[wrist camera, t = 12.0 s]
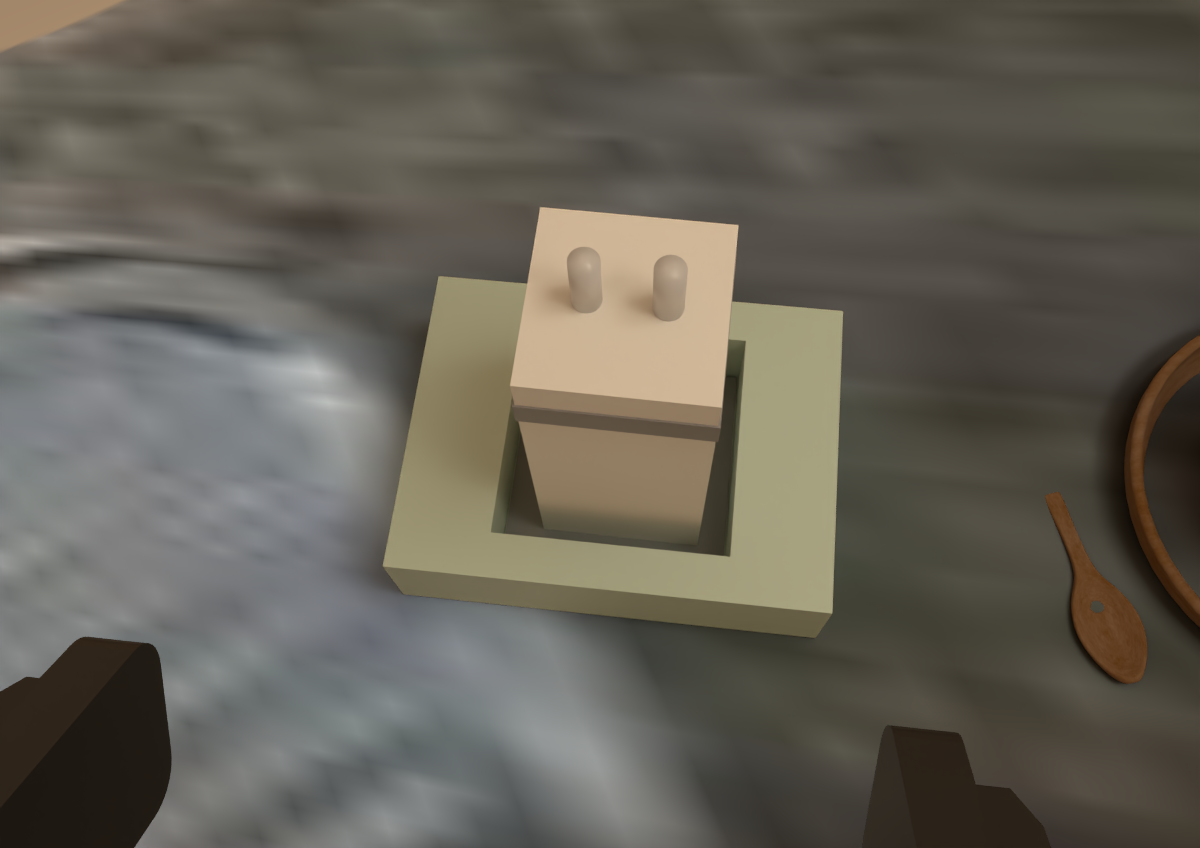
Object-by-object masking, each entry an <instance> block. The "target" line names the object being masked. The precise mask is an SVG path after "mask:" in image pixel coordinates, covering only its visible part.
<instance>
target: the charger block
mask: <svg viewBox="0 0 1200 848" xmlns="http://www.w3.org/2000/svg"><path fill="white" fill-rule="evenodd" d="M737 236H738V225H731V224H720V223H709V222H698V221H687V220H676V219H665V218H654V217H643V216H632V215H621V214H610V213H599V212H588V211H577V210H566V209H555V208H544V207H540V212H539V218H538V224H537V230H536V236H535V242H534V248H533V253H532V259H531V265H530V271H529V277H528V283H527V289H526V295H525V300H524V306H523V312H522V318H521V324H520V330H519V336H518V341H517V347H516V353H515V359H514V365H513V371H512V377H511V383H510V388H511V392H512V397H513V403H512V409H513V413H514V417H515V421H518V422H519V426H520V430H521V434H522V438H523V443H524V447H525V451H526V455H527V459H528V464H529V468H530V472H531V476H532V480H533V485H534V489H535V493H536V497H537V501H538V505H539V510H540V514H541V518H542V522H543V526H544V529H551V530H560V531H569V532H578V533H587V534H596V535H605V536H614V537H623V538H632V539H641V540H650V541H659V542H668V543H677V544H686V545H695V546H697V543H698V538H699V532H700V527H701V521H702V516H703V510H704V505H705V499H706V493H707V488H708V482H709V477H710V471H711V466H712V460H713V455H714V449H715V443H716V442H718V440H719V435H720V430H721V420H722V409H723V398H724V387H725V376H726V364H727V353H728V342H729V331H730V320H731V309H732V298H733V287H734V276H735V265H736V254H737Z"/></svg>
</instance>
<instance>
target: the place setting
mask: <svg viewBox="0 0 1200 848" xmlns="http://www.w3.org/2000/svg"><path fill="white" fill-rule="evenodd" d="M1198 373H1200V335H1199V336H1197V337H1196V338H1194V339H1193V340H1191V341H1189V342H1188V343H1187V344H1186V345H1185V346H1183V347H1182V348H1181V349H1180V350H1179V351H1178V352H1176V353H1175V354H1174V355H1173V356H1172V357H1171V358H1170V359H1169V360H1168V361H1167V362H1166V364H1165V365H1164V366H1163V367H1162V368H1161V370H1160V371H1159V372H1158V373H1157V374H1156V375H1155V377H1154V378H1153V379H1152V381H1151V383H1150V384H1149V386H1148V388H1147V389H1146V391H1145V393H1144V394H1143V396H1142V398H1141V399H1140V401H1139V404H1138V406H1137V409H1136V411H1135V414H1134V416H1133V419H1132V421H1131V425H1130V429H1129V434H1128V438H1127V442H1126V450H1125V464H1124V476H1125V490H1126V498H1127V502H1128V507H1129V512H1130V516H1131V520H1132V523H1133V526H1134V529H1135V532H1136V534H1137V537H1138V540H1139V543H1140V545H1141V547H1142V549H1143V551H1144V553H1145V555H1146V557H1147V559H1148V561H1149V563H1150V565H1151V567H1152V569H1153V571H1154V572H1155V574H1156V575H1157V577H1158V578H1159V580H1160V581H1161V583H1162V584H1163V586H1164V587H1165V589H1166V590H1167V592H1168V593H1169V594H1170V596H1171V597H1172V598H1173V599H1174V600H1175V602H1176V603H1177V604H1178V605H1179V606H1180V608H1181V609H1182V610H1183V611H1184V613H1185V614H1186V615H1187V616H1188V617H1189V618H1190V619H1191V620H1192V621H1193V622H1194V623H1195V624H1197V625H1198V626H1199V627H1200V598H1199V597H1198V596H1197V594H1196V593H1195V592H1194V591H1193V590H1192V589H1191V587H1190V586H1189V585H1188V584H1187V583H1186V581H1185V580H1184V578H1183V577H1182V575H1181V574H1180V572H1179V571H1178V569H1177V568H1176V566H1175V565H1174V563H1173V562H1172V560H1171V559H1170V557H1169V555H1168V553H1167V551H1166V549H1165V547H1164V545H1163V543H1162V541H1161V539H1160V537H1159V535H1158V533H1157V530H1156V527H1155V525H1154V522H1153V519H1152V516H1151V514H1150V511H1149V507H1148V502H1147V498H1146V493H1145V489H1144V479H1143V477H1144V462H1145V454H1146V450H1147V445H1148V441H1149V437H1150V435H1151V432H1152V430H1153V427H1154V425H1155V422H1156V420H1157V418H1158V416H1159V415H1160V413H1161V411H1162V410H1163V408H1164V406H1165V405H1166V403H1167V402H1168V401H1169V400H1170V399H1171V397H1172V396H1173V395H1174V394H1175V393H1176V391H1177V390H1178V389H1179V388H1181V387H1182V386H1183V385H1184V384H1185V383H1186V382H1187V381H1189V380H1190V379H1191V378H1192V377H1194V376H1195V375H1197V374H1198ZM1045 499H1046V502H1047V505H1048V508H1049V510H1050V513H1051V515H1052V517H1053V520H1054V522H1055V524H1056V527H1057V529H1058V531H1059V533H1060V536H1061V538H1062V540H1063V542H1064V545H1065V547H1066V550H1067V552H1068V554H1069V557H1070V560H1071V563H1072V567H1073V572H1074V584H1073V590H1072V596H1071V613H1072V619H1073V623H1074V627H1075V630H1076V633H1077V635H1078V638H1079V640H1080V641H1081V643H1082V645H1083V646H1084V648H1085V649H1086V651H1087V652H1088V653H1089V655H1090V656H1091V657H1092V658H1093V659H1094V661H1095V662H1096V663H1097V664H1098V665H1099V666H1100V667H1101V668H1102V669H1103V670H1104V671H1105V672H1107V673H1108V674H1109V675H1110V676H1112V677H1113V678H1115V679H1116V680H1118V681H1120V682H1122V683H1125V684H1129V683H1134V682H1138V681H1140V680H1141V679H1142V677H1143V674H1144V671H1145V667H1146V661H1147V640H1146V634H1145V630H1144V627H1143V624H1142V621H1141V619H1140V617H1139V615H1138V613H1137V612H1136V610H1135V609H1134V607H1133V606H1132V604H1131V603H1130V602H1129V601H1128V599H1127V598H1126V597H1125V596H1124V595H1123V594H1122V593H1121V592H1120V591H1119V590H1118V589H1117V588H1116V587H1115V586H1113V585H1112V584H1111V583H1110V582H1108V581H1107V580H1106V579H1105V578H1104V577H1103V576H1102V575H1101V574H1100V573H1099V572H1098V571H1097V570H1096V568H1095V567H1094V565H1093V564H1092V562H1091V561H1090V559H1089V557H1088V555H1087V553H1086V551H1085V549H1084V547H1083V545H1082V543H1081V540H1080V538H1079V536H1078V534H1077V531H1076V529H1075V527H1074V524H1073V522H1072V519H1071V517H1070V515H1069V512H1068V510H1067V507H1066V505H1065V502H1064V500H1063V498H1062V496H1061V494H1060V493H1059V492H1056V493H1052V494H1048V495H1045ZM1093 601H1100V602H1101V603H1102V604H1103V605H1104V611H1102V612H1100V613H1095V612H1093V611H1092V610H1091V609H1090V608H1091V602H1093Z"/></svg>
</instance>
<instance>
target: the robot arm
mask: <svg viewBox="0 0 1200 848" xmlns="http://www.w3.org/2000/svg"><path fill="white" fill-rule="evenodd" d="M170 773H171V746H170V738H169V730H168V721H167V713H166V705H165V696H164V688H163V680H162V671H161V663H160V657H159V654H158V652H157V650H156V648H155V647H154V646H153V645H151V644H149V643H140V642H131V641H121V640H112V639H103V638H94V637H82V638H80V639H78V640H76V641H75V642H74V643H73V644H72V645H71V646H70V647H69V648H68V649H67V650H66V651H65V652H64V653H63V654H62V655H61V656H60V657H59V658H58V659H57V661H56V662H55V663H54V664H53V665H52V666H51V667H50V668H49V669H48V670H47V671H46V672H45V673H44V674H43V675H42V676H41V677H40V678H33V677H25V678H23V679H22V680H20V681H18V682H16V683H15V684H13V685H11V686H10V687H8V688H6V689H4V690H3V691H1V692H0V848H134V847H135V846H136V844H137V843H138V841H139V840H140V838H141V837H142V835H143V834H144V832H145V831H146V829H147V828H148V826H149V825H150V823H151V822H152V820H153V819H154V817H155V816H156V814H157V812H158V810H159V808H160V806H161V804H162V802H163V799H164V797H165V794H166V791H167V787H168V783H169V779H170ZM862 848H1051V846H1050V844H1049V841H1048V838H1047V835H1046V832H1045V830H1044V827H1043V826H1042V825H1041V823H1040V822H1039V821H1038V820H1037V819H1036V818H1035V817H1034V815H1033V814H1032V813H1031V812H1030V811H1029V810H1028V809H1027V807H1026V806H1025V805H1024V804H1023V803H1022V802H1021V801H1020V799H1019V798H1018V797H1017V796H1016V795H1015V794H1014V793H1013V791H1012V790H1011V789H1010V788H1001V787H992V786H983V785H976V784H975V780H974V777H973V774H972V770H971V767H970V763H969V760H968V757H967V753H966V750H965V746H964V743H963V740H962V738H961V736H960V735H959V734H958V733H955V732H945V731H936V730H927V729H917V728H908V727H899V726H890V725H888V726H886V728H885V729H884V732H883V735H882V738H881V743H880V748H879V754H878V759H877V765H876V770H875V776H874V781H873V787H872V792H871V797H870V803H869V808H868V814H867V819H866V825H865V830H864V836H863V843H862Z"/></svg>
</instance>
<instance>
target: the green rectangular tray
mask: <svg viewBox="0 0 1200 848" xmlns="http://www.w3.org/2000/svg"><path fill="white" fill-rule="evenodd" d="M526 289H527V284H523V283H512V282H500V281H489V280H477V279H465V278H454V277H442V276H439V278H438V283H437V288H436V293H435V298H434V304H433V309H432V314H431V319H430V324H429V329H428V335H427V340H426V345H425V350H424V355H423V360H422V366H421V371H420V376H419V381H418V386H417V391H416V397H415V402H414V407H413V412H412V417H411V422H410V428H409V433H408V438H407V443H406V448H405V453H404V459H403V464H402V469H401V474H400V479H399V484H398V490H397V495H396V500H395V505H394V510H393V515H392V521H391V526H390V531H389V536H388V541H387V546H386V552H385V557H384V562H383V568H384V569H385V570H386V572H387V573H388V574H389V576H390V577H391V578H392V580H393V581H394V582H395V584H396V585H397V586H398V588H399V589H400V590H401V592H402V593H403V594H405V595H415V596H424V597H434V598H443V599H453V600H462V601H471V602H481V603H490V604H500V605H509V606H518V607H528V608H537V609H547V610H556V611H565V612H575V613H584V614H594V615H603V616H612V617H622V618H631V619H641V620H650V621H660V622H669V623H678V624H688V625H697V626H707V627H716V628H725V629H735V630H744V631H754V632H763V633H772V634H782V635H791V636H801V637H810V638H816V636H817V635H818V633H819V632H820V631H821V629H822V628H823V626H824V625H825V623H826V622H827V620H828V619H829V618H830V616H831V615H832V608H833V580H834V551H835V523H836V495H837V466H838V438H839V410H840V381H841V353H842V325H843V311H835V310H824V309H812V308H801V307H789V306H778V305H766V304H755V303H743V302H732V309H731V320H730V331H729V342H728V353H727V364H726V376H725V387H724V398H723V409H722V420H721V430H720V435H719V440H718V442H716V443H715V449H714V455H713V460H712V466H711V471H710V477H709V482H708V488H707V493H706V499H705V505H704V510H703V516H702V521H701V527H700V532H699V538H698V543H697V546H695V545H686V544H677V543H668V542H659V541H650V540H641V539H632V538H623V537H614V536H605V535H596V534H587V533H578V532H569V531H560V530H551V529H544V526H543V522H542V518H541V514H540V510H539V505H538V501H537V497H536V493H535V489H534V485H533V480H532V476H531V472H530V468H529V464H528V459H527V455H526V451H525V447H524V443H523V438H522V434H521V430H520V426H519V422H518V421H515V417H514V413H513V409H512V403H513V397H512V392H511V388H510V383H511V377H512V371H513V365H514V359H515V353H516V347H517V341H518V336H519V330H520V324H521V318H522V312H523V306H524V300H525V295H526Z"/></svg>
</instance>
